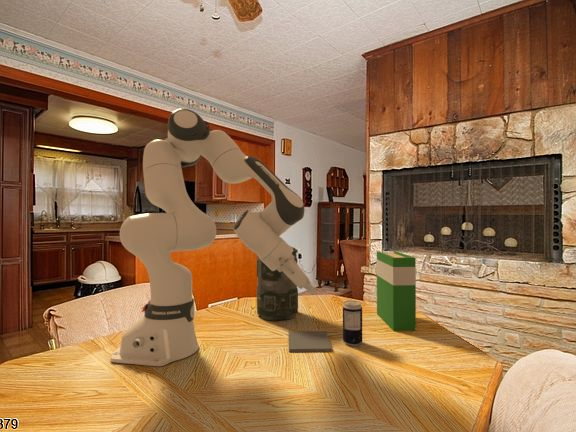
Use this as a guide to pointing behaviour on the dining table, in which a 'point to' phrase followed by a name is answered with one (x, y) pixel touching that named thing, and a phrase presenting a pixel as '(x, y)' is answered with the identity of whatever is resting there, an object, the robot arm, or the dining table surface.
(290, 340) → the mat
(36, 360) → the dining table surface
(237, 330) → the dining table surface
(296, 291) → the canister
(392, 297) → the hardback book
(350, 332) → the beverage can
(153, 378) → the dining table surface
